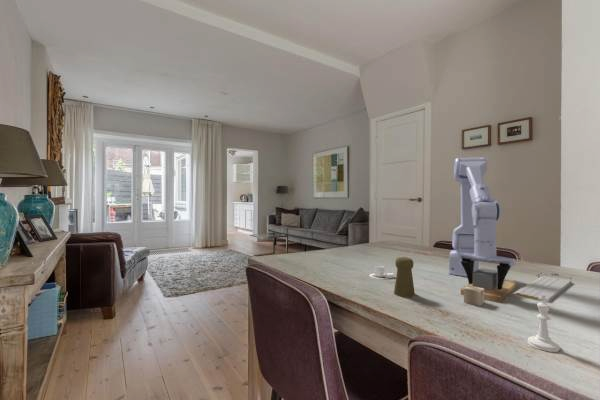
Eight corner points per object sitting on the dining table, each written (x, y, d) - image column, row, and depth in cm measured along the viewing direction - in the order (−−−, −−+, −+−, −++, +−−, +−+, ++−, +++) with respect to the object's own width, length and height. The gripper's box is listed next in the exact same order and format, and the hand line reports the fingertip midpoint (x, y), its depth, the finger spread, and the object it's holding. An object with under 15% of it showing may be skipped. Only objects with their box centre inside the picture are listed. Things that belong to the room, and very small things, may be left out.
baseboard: (506, 295, 90) (548, 304, 82) (506, 286, 90) (548, 294, 82) (535, 278, 109) (571, 284, 101) (535, 270, 109) (571, 276, 101)
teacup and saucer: (397, 278, 108) (397, 267, 108) (383, 282, 104) (383, 270, 104) (379, 273, 115) (379, 263, 115) (364, 276, 111) (364, 265, 111)
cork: (389, 292, 91) (389, 256, 91) (404, 289, 94) (404, 255, 94) (403, 298, 86) (403, 260, 86) (419, 295, 88) (419, 258, 88)
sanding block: (472, 289, 89) (472, 272, 89) (481, 283, 95) (481, 267, 95) (491, 293, 85) (491, 276, 85) (499, 286, 92) (499, 270, 91)
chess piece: (550, 354, 55) (551, 300, 55) (522, 342, 59) (522, 292, 59) (565, 348, 57) (565, 297, 57) (536, 337, 61) (536, 289, 61)
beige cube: (468, 299, 85) (463, 302, 82) (468, 285, 85) (463, 288, 82) (484, 302, 82) (480, 306, 79) (484, 288, 82) (480, 291, 79)
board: (460, 294, 89) (460, 289, 89) (482, 280, 104) (482, 275, 104) (499, 302, 82) (499, 297, 82) (516, 286, 97) (516, 281, 97)
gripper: (454, 240, 92) (454, 283, 92) (511, 245, 81) (510, 294, 81) (462, 237, 97) (462, 279, 97) (516, 242, 86) (516, 289, 86)
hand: (485, 285), depth 89 cm, fingers open, 7 cm apart
